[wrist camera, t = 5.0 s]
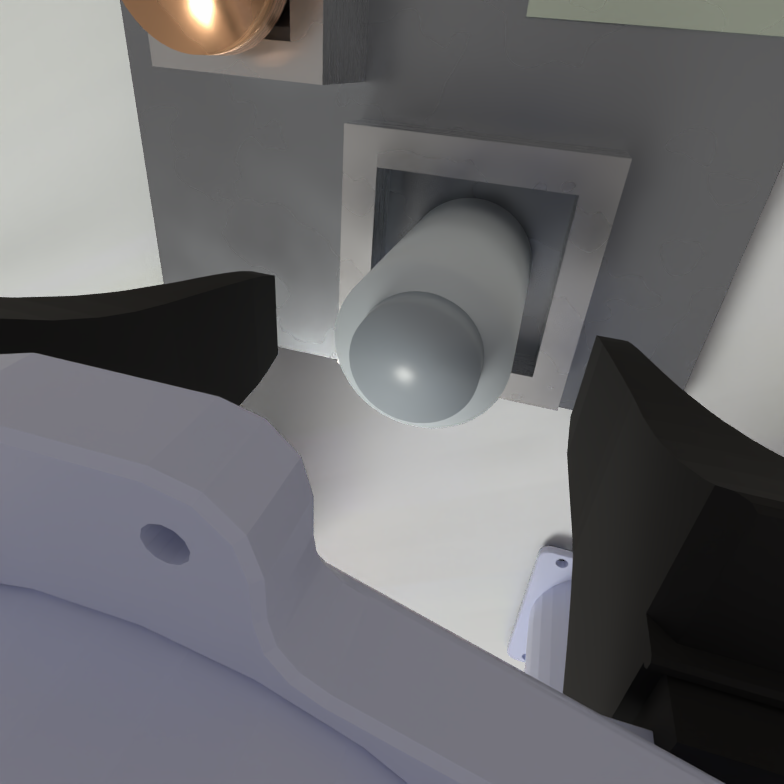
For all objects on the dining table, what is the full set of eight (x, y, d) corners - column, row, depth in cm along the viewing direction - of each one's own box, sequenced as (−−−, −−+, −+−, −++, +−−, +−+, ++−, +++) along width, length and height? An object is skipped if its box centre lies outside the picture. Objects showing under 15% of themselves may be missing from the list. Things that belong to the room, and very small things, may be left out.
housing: (1058, -528, 9) (1388, -933, 5) (661, 411, 19) (682, 491, 15) (87, -435, 13) (-109, -638, 9) (187, 312, 23) (114, 359, 19)
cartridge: (545, 208, 16) (530, 293, 10) (517, 331, 18) (490, 463, 12) (413, 189, 16) (324, 257, 11) (401, 309, 19) (321, 422, 13)
